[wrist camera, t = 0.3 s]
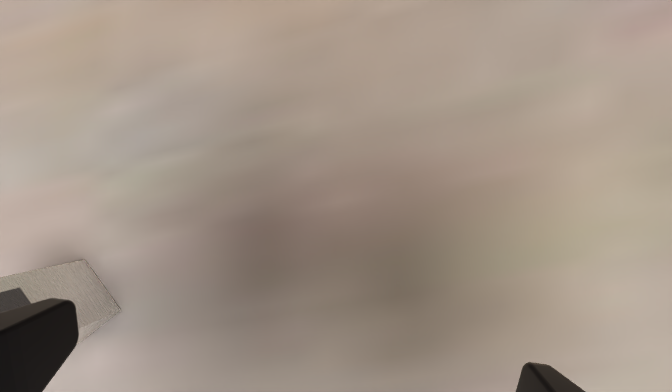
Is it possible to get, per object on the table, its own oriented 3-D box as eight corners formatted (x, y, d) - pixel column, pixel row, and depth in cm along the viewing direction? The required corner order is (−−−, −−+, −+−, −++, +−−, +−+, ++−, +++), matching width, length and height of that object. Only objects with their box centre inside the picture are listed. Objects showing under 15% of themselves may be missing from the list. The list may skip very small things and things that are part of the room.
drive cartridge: (79, 343, 24) (-124, 443, 14) (44, 292, 25) (-180, 357, 15) (121, 309, 24) (-56, 388, 14) (85, 258, 24) (-115, 301, 14)
